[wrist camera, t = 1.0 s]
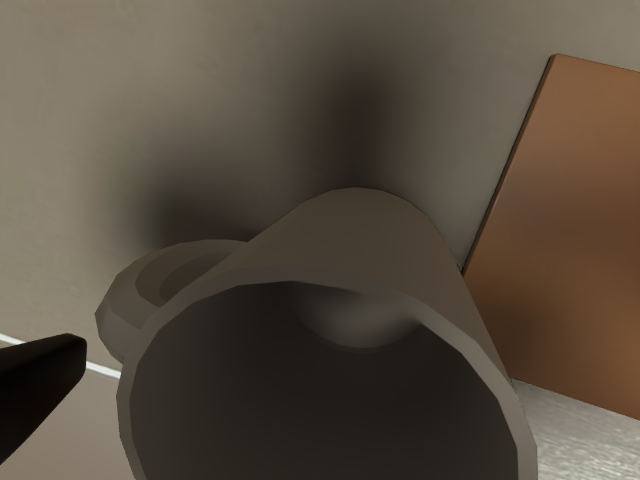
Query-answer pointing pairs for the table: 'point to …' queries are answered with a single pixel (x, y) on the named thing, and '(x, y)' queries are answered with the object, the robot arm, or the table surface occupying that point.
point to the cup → (312, 355)
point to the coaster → (568, 240)
